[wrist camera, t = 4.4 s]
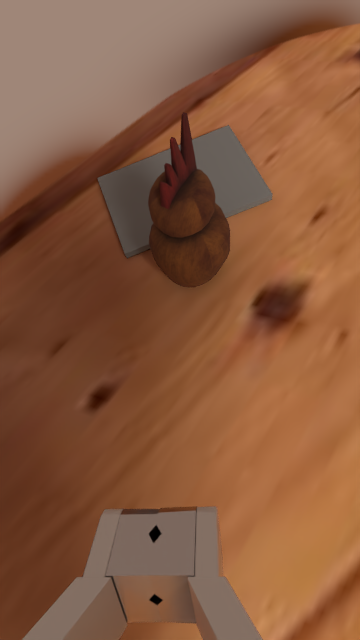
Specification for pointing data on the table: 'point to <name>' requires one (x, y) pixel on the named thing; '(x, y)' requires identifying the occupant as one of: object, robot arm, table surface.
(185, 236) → the wooden figurine
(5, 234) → the table surface
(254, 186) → the rubber mat
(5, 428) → the table surface
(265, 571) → the table surface
